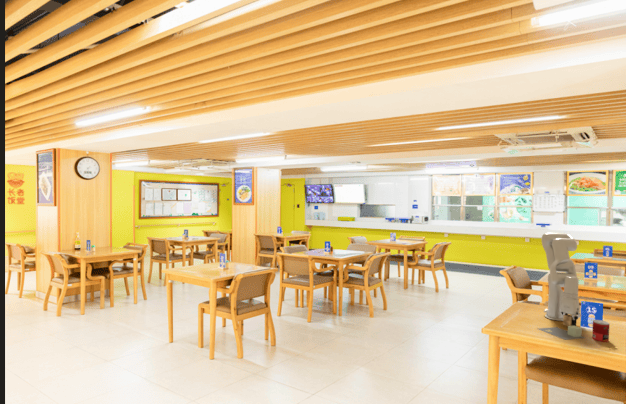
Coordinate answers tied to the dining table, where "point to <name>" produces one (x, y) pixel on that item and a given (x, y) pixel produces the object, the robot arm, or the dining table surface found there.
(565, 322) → the oak block
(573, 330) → the sage block
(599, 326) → the canned food
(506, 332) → the dining table surface
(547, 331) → the mat
